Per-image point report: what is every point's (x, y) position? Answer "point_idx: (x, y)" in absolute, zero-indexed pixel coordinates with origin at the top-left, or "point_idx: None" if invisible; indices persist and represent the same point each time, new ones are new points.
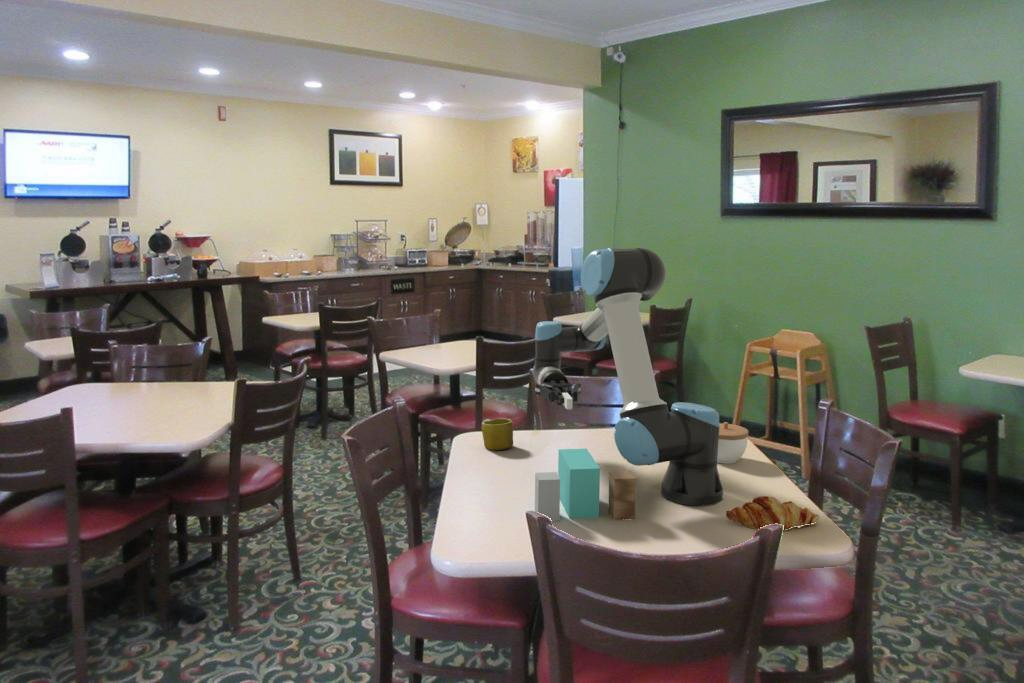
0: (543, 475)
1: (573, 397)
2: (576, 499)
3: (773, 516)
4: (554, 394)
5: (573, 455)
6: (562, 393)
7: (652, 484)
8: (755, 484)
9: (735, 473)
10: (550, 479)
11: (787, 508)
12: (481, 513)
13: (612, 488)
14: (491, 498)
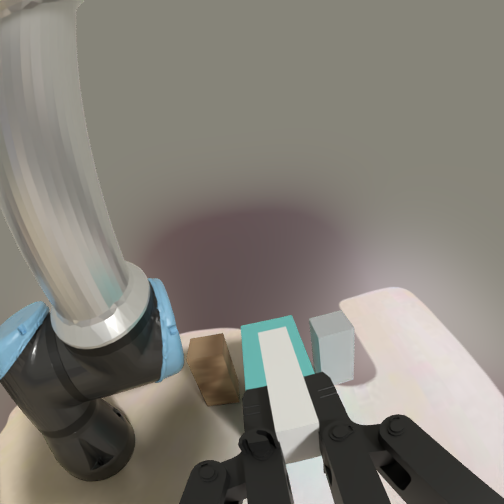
0: (337, 323)
1: (245, 398)
2: None
3: None
4: (375, 429)
5: None
6: (314, 410)
7: (123, 494)
8: (15, 448)
9: (5, 482)
10: (323, 315)
11: None
12: (423, 357)
13: (227, 355)
14: (436, 401)
